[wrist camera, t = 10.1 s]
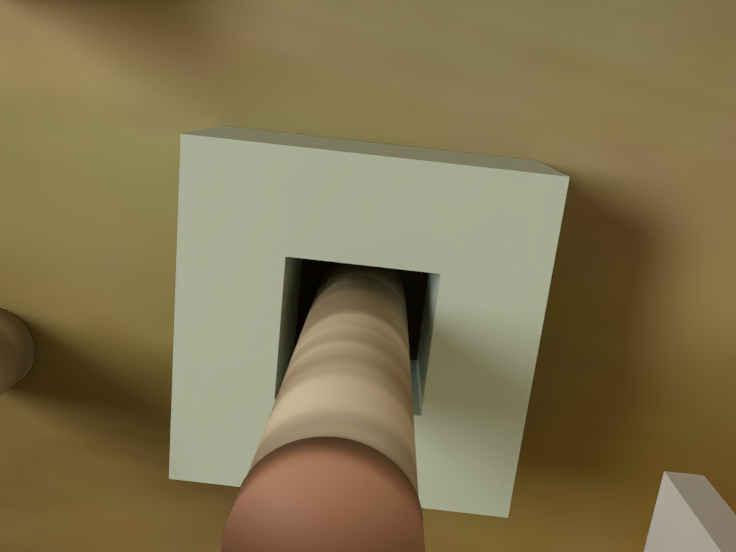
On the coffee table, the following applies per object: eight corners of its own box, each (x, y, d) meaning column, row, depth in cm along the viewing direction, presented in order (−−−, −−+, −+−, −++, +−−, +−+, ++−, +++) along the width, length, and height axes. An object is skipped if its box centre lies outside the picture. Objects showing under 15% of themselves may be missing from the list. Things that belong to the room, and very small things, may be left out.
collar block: (220, 125, 26) (180, 133, 21) (537, 160, 26) (569, 176, 21) (206, 414, 29) (168, 478, 24) (489, 446, 29) (507, 517, 24)
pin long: (321, 247, 27) (226, 453, 12) (412, 257, 27) (438, 477, 12) (313, 333, 28) (216, 629, 13) (401, 343, 28) (412, 651, 13)
